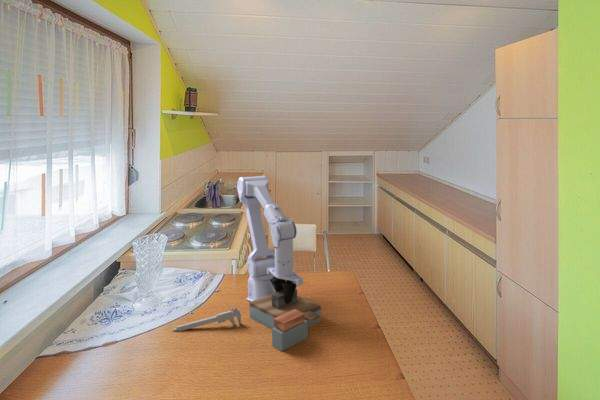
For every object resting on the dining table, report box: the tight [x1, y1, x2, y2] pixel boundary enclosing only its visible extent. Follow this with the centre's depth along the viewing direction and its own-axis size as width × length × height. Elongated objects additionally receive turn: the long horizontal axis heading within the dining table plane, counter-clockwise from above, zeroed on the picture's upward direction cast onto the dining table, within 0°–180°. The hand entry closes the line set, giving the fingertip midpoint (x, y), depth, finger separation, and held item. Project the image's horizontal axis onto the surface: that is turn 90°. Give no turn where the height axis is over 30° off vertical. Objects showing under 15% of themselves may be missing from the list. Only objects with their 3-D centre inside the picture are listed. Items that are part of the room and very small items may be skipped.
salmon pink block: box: [274, 309, 305, 331], centre depth 112 cm, size 4×8×2 cm, turn 135°
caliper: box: [172, 306, 242, 332], centre depth 121 cm, size 20×1×6 cm, turn 100°
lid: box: [249, 288, 322, 323], centre depth 124 cm, size 22×14×6 cm, turn 45°
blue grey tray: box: [249, 305, 322, 352], centre depth 122 cm, size 22×20×5 cm
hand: (284, 300), depth 125 cm, fingers closed on lid, 3 cm apart
